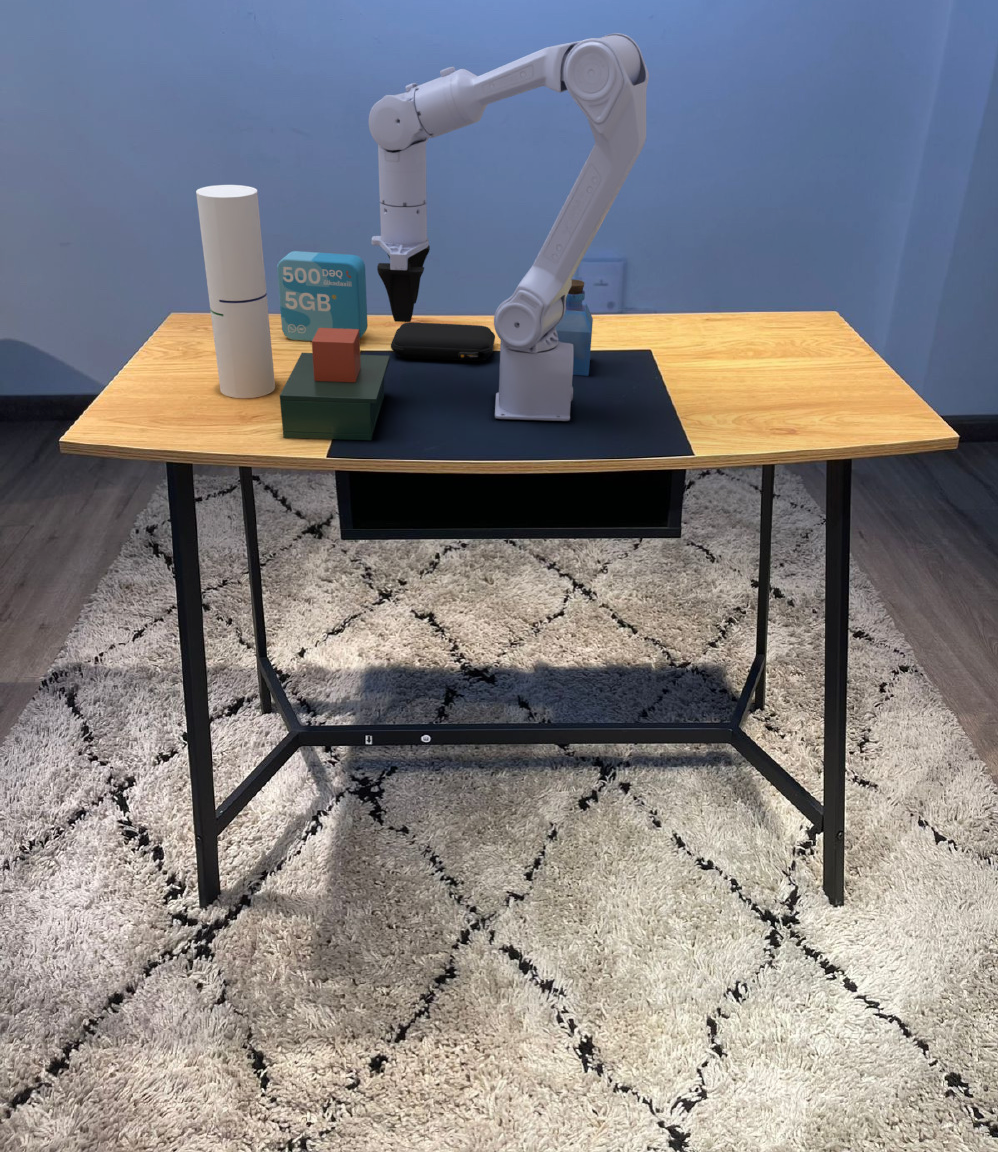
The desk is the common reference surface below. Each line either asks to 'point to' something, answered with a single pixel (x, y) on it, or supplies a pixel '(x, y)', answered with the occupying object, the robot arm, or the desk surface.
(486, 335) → the carrying case
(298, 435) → the bin
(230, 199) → the cylindrical container
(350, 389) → the bin lid
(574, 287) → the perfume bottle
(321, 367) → the block
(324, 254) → the data package
